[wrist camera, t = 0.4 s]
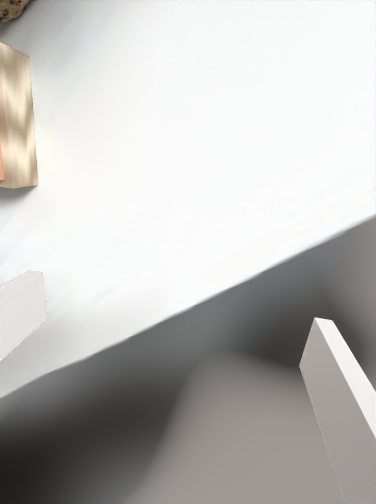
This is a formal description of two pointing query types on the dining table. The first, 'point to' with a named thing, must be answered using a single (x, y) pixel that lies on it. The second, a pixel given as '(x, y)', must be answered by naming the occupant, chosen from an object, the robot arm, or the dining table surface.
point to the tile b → (1, 165)
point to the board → (16, 120)
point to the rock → (11, 9)
